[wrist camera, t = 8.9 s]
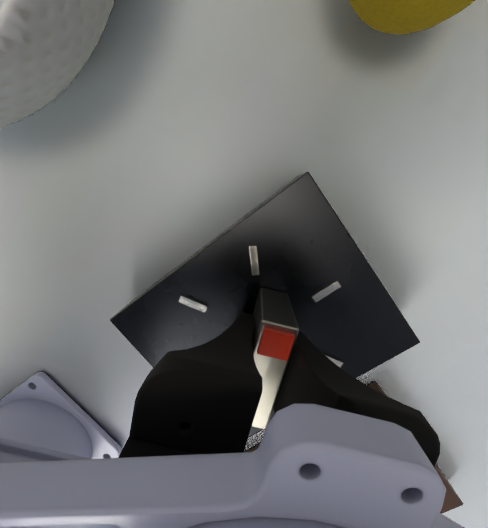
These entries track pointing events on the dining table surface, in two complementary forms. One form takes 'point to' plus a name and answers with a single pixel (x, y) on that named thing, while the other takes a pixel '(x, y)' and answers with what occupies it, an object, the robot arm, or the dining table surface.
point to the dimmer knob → (272, 347)
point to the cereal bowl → (44, 50)
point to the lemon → (406, 13)
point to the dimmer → (275, 286)
